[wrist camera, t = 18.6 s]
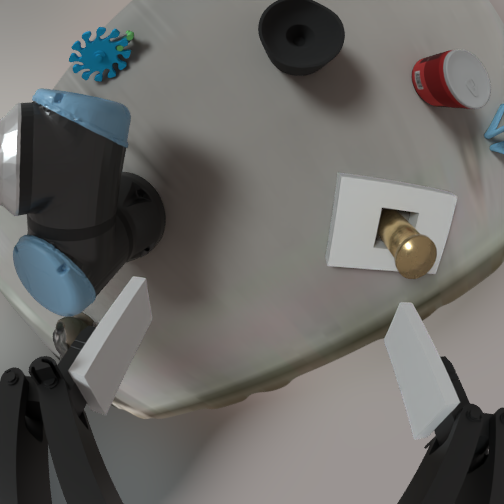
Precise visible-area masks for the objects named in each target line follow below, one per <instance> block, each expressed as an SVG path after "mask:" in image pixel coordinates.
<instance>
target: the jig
mask: <svg viewBox="0 0 504 504" xmlns="http://www.w3.org/2000/svg"><path fill="white" fill-rule="evenodd" d="M457 197H458V196H456V195H454V194H453V193H451V192H449V191H446V190H441V189H436V188H432V187H427V186H422V185H416V184H411V183H406V182H400V181H394V180H388V179H382V178H376V177H369V176H362V175H355V174H348V173H340V172H338V174H337V182H336V190H335V197H334V204H333V212H332V218H331V225H330V231H329V238H328V244H327V250H326V256H325V258H326V262H327V265H328V266H336V267H348V268H361V269H374V270H387V271H398V270H397V268H396V266H395V258H394V257H393V255H392V254H391V253H390V251H389V250H388V248H387V247H386V245H385V244H384V242H383V241H377V240H375V238H376V234H377V229H378V224H379V219H380V214H381V209H382V208H389V209H396V210H403V211H410V212H411V213H410V217H409V223H410V224H411V225H412V226H413V227H414V228H415V229H416V230H417V231H418V232H419V233H420V234H423V235H426V236H427V237H429V238H430V239H431V240H432V241H433V242H434V244H435V246H436V249H437V257H436V261H435V263H434V265H433V267H432V268H431V269H430V271H429V272H427V273H428V274H436V271H437V268H438V265H439V262H440V259H441V256H442V253H443V250H444V247H445V243H446V240H447V236H448V233H449V229H450V226H451V222H452V218H453V214H454V210H455V206H456V201H457Z"/></svg>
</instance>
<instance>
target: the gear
mask: <svg viewBox="0 0 504 504" xmlns="http://www.w3.org/2000/svg"><path fill="white" fill-rule="evenodd" d="M105 31H106V28H104V27H99V28H98V29H97V32H96V33H97V36H96V39H95V40H94V41H89V38H90V36H91V32H90V31H88V32H85V33H84V34H83V35H82V39H84V41H85V43H86V47H85V48H81V43H80V42H79V41H76V42H75V43H74V44H73V46H72V49H73V50H77V51H79V52H80V53H81V55H82V56H81V57H78V56H77V55H76V54H75V53H72V54H71V56H70V58H69V61H70V62H74V61H79V62H82V63H83V64H84V65H79V64H75V65H74V66H73V72H74V73H78V72H79V71H80V70H82V69H90V71H86V72H84V73H83V74H82V78H83V79H84V80H88V78H89V76H90V75H91V74H92V73H93V72H95V71H99V72H100V73H98V74H97V75H96V76H95V79H94V80H95V81H102V78H103V75H102V73H103V71H104V70H105V69H109V70H110V71H109V73H108V78H112V77H115V76H116V71H115V70H114V69H113V63H118V68H119V69H120V70H122V69H124V68H125V67H126V65H127V63H126V62H125V61H122V60H120V59H119V58H118V56H117V55H118V54H122V55H123V57H124V58H129V56H130V53H131V50H129V49H127V50H123V48H124V47H125V46H127V45H128V43H129V42H130V41H131V40H132V39H133V37H134V33H133V32H130V31H126V34H123V35H121V36H119V34H120V32H119V31H118V30H117V29H114V30H113V31H112V32H111V34H110V35H109V36H108V37H106V38H104V39H101V38H100V36H101V35H103V34H104V33H105ZM118 36H119V37H118ZM116 37H117V38H116ZM110 38H115V39H113V40H111V41H110Z"/></svg>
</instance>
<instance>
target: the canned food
mask: <svg viewBox="0 0 504 504" xmlns="http://www.w3.org/2000/svg"><path fill="white" fill-rule="evenodd" d="M412 82H413V85H414V88H415V90H416V92H417V93H418V95H419V96H420V97H421V98H422V99H423V100H424V101H426V102H427V103H429V104H431V105H433V106H437V107H453V108H466V109H478V108H481V107H483V106H485V105H486V104H487V102H488V100H489V98H490V93H491V84H490V79H489V76H488V73H487V71H486V69H485V67H484V65H483V64H482V62H481V61H480V60H479V59H478V58H477V57H476V56H475V55H474V54H472V53H471V52H469V51H467V50H463V49H454V50H450V51H446V52H443V53H440V54H436V55H433V56H430V57H427V58H423V59H421V60H419V61H418V62H417V63H416V64H415V66H414V68H413V71H412Z"/></svg>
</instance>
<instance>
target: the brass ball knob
mask: <svg viewBox="0 0 504 504" xmlns="http://www.w3.org/2000/svg"><path fill="white" fill-rule="evenodd" d="M377 234H378V235H379V237H380V238H381V240H382V241H383V242H384V244H385V245H386V247H387V248H388V250H389V251H390V253H391V254H392V255H393V257H394V258H395V266H396V268H397V270H398V271H399V273H400V274H401V275H402V276H403V277H405V278H408V279H416V278H419V277H422V276H423V275H425V274H426V273H427V272H429V271H430V269H431V268H432V267H433V265H434V263H435V261H436V257H437V249H436V246H435V244H434V242H433V241H432V240H431V239H430V238H429V237H427V236H426V235H423V234H420V233H419V232H418V231H417V230H416V229H415V228H414V227H413V226H412V225H411V224H410V223H409V222H408V221H407V220H406V219H405V218H404V217H403V216H402V215H401V214H400V213H399V212H398V211H397V210H395V209H389V208H387V209H384V210H382V211H381V214H380V219H379V224H378V229H377Z"/></svg>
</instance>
